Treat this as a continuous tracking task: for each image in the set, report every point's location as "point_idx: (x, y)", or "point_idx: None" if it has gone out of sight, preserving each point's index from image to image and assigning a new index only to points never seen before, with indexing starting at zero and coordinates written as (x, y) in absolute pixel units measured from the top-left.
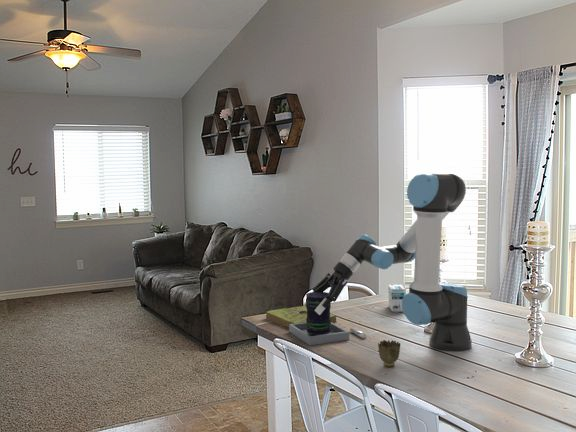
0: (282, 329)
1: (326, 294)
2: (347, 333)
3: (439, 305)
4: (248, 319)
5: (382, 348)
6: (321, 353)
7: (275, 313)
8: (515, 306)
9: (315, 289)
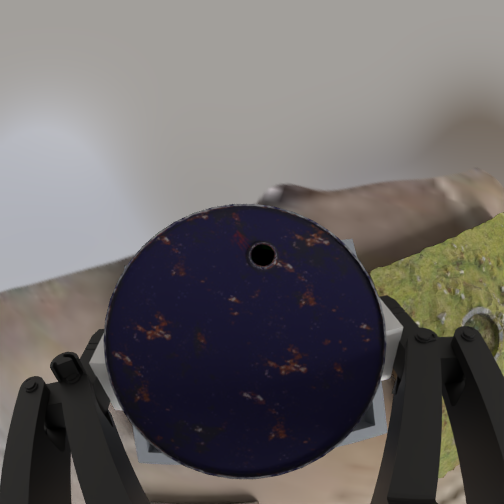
0: (380, 236)
1: (217, 433)
2: (139, 452)
3: None
4: (482, 174)
5: None
6: (53, 285)
7: (496, 232)
8: None
9: (436, 350)
